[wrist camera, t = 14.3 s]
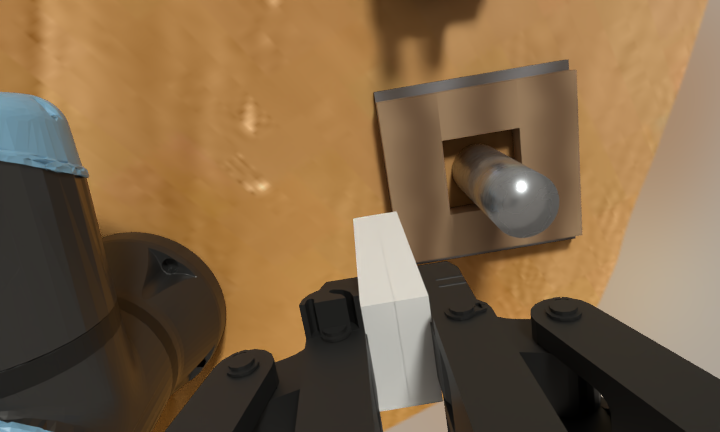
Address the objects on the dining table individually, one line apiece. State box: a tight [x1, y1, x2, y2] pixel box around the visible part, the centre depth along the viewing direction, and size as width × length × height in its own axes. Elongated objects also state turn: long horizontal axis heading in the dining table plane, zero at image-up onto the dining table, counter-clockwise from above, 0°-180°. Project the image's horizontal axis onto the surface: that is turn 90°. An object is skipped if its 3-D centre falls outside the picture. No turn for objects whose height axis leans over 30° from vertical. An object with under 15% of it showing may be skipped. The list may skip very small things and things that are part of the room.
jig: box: [374, 60, 582, 264], centre depth 43 cm, size 16×16×2 cm
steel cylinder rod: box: [452, 144, 559, 238], centre depth 38 cm, size 4×4×12 cm
